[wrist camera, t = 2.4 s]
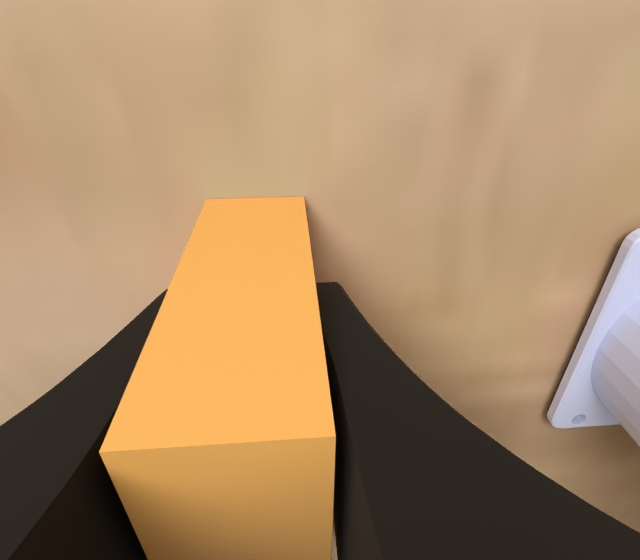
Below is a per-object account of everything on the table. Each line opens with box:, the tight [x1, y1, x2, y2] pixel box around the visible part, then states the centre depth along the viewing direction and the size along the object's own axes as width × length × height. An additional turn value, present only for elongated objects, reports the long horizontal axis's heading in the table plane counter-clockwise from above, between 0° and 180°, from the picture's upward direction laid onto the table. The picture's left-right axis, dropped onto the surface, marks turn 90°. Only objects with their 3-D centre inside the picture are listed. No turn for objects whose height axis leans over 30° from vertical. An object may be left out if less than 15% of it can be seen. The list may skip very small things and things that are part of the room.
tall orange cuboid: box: [99, 197, 336, 560], centre depth 8 cm, size 2×4×7 cm, turn 0°
